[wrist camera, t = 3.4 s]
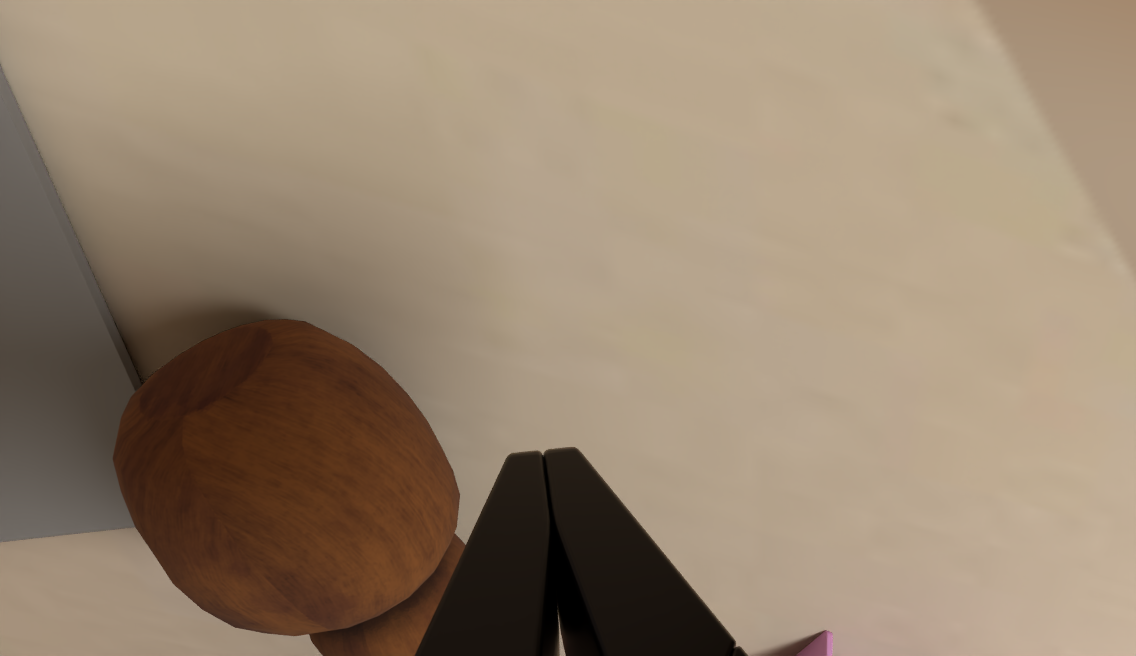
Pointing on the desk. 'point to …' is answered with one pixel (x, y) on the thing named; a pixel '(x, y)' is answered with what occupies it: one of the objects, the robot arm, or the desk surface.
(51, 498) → the mat
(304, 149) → the desk surface
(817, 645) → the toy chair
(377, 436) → the wooden figurine
